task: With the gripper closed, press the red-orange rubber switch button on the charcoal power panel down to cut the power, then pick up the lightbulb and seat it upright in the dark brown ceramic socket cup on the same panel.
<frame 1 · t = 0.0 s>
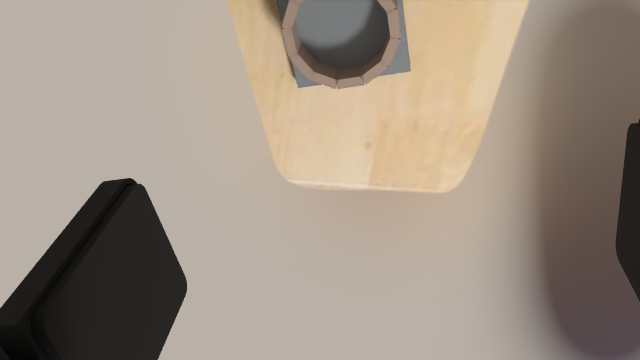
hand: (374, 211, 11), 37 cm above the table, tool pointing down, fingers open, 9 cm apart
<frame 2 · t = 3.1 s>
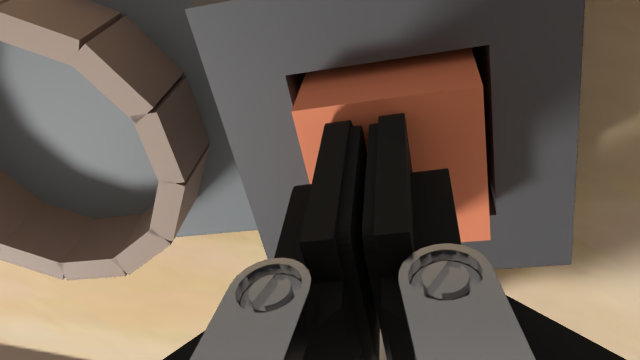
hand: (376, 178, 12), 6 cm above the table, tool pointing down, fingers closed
switch button: (396, 134, 13), point 4 cm above the table, slide at 0.7 cm, touching gripper
power panel: (232, 93, 18), on the table
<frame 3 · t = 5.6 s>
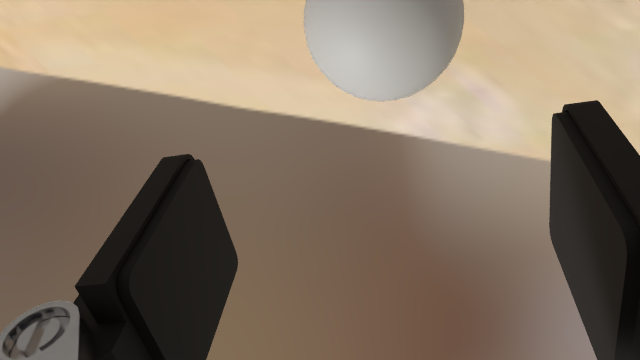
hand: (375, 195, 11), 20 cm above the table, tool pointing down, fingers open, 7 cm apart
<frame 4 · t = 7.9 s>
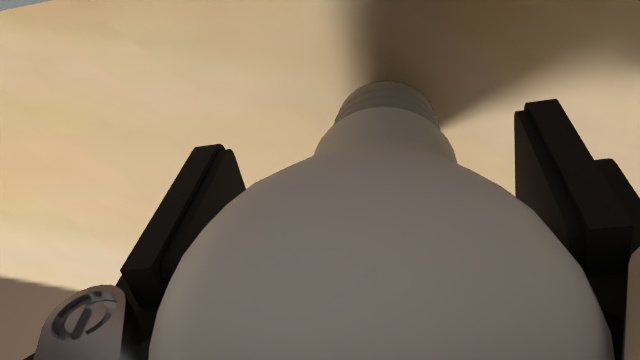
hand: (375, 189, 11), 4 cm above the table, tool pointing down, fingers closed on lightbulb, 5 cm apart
lightbulb: (387, 109, 14), on the table, touching gripper
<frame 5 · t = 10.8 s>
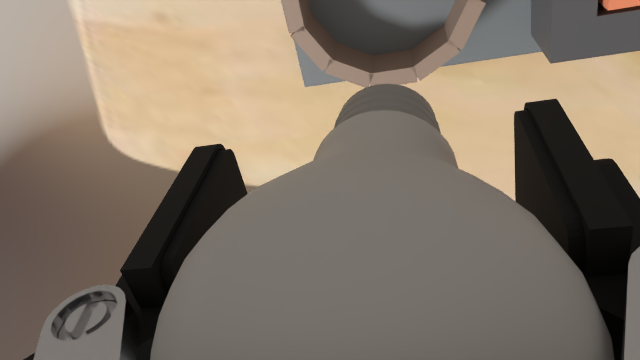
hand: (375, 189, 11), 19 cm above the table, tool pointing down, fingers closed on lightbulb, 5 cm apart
lightbulb: (387, 112, 14), point 16 cm above the table, touching gripper
when the fingers open (6 cm above the table, at t = 13.7 s): lightbulb drops 1 cm, resting on power panel.
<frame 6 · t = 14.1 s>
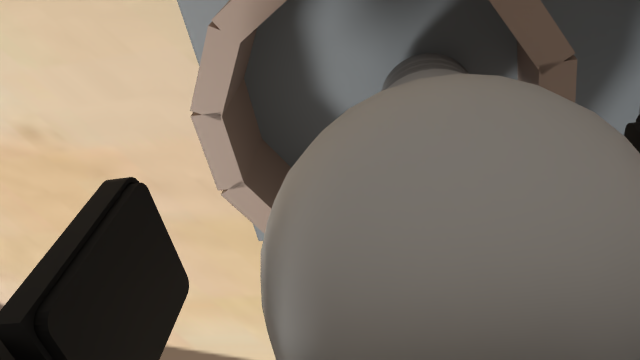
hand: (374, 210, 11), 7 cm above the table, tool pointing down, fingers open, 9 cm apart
lightbulb: (424, 84, 15), point 1 cm above the table, touching gripper, power panel
power panel: (573, 48, 15), on the table
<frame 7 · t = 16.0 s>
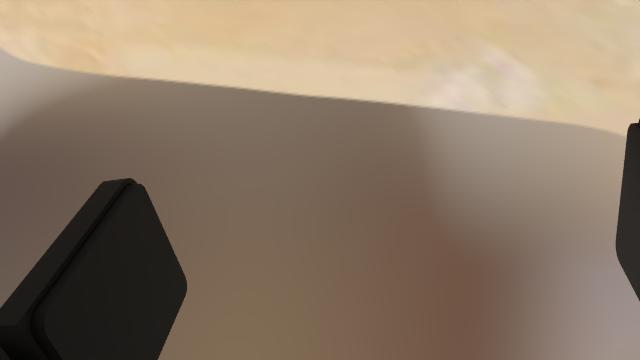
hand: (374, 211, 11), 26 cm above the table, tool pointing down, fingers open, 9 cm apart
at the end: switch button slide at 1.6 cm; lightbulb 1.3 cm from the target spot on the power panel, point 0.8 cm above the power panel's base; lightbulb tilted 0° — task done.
